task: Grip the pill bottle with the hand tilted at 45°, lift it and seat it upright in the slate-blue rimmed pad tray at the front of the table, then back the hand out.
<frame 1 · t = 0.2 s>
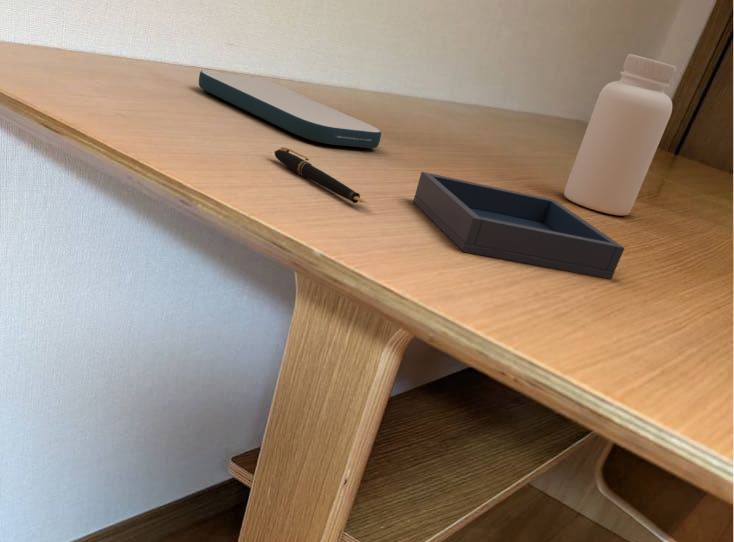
fountain pen: (316, 186, 70), on the table
pad tray: (507, 238, 70), on the table
pill bottle: (594, 207, 95), on the table
external hard drive: (284, 121, 93), on the table
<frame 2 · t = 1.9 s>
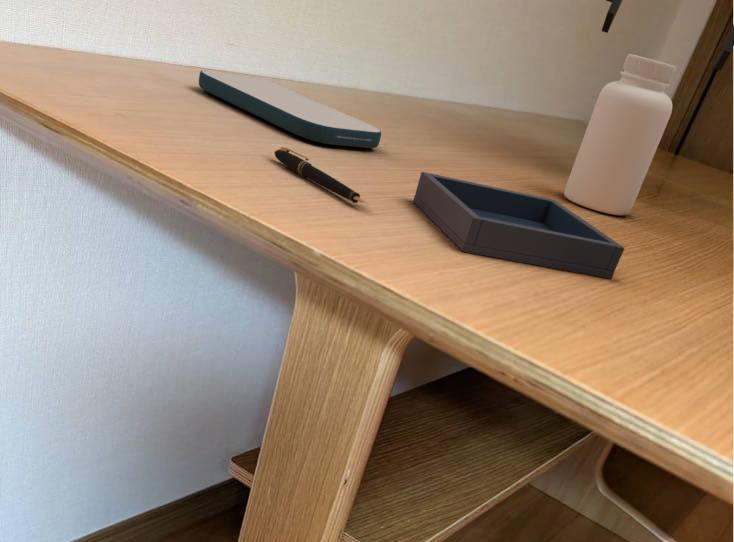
hand: (664, 41, 93), 17 cm above the table, tool tilted 45°, fingers open, 13 cm apart
nothing on the table moved.
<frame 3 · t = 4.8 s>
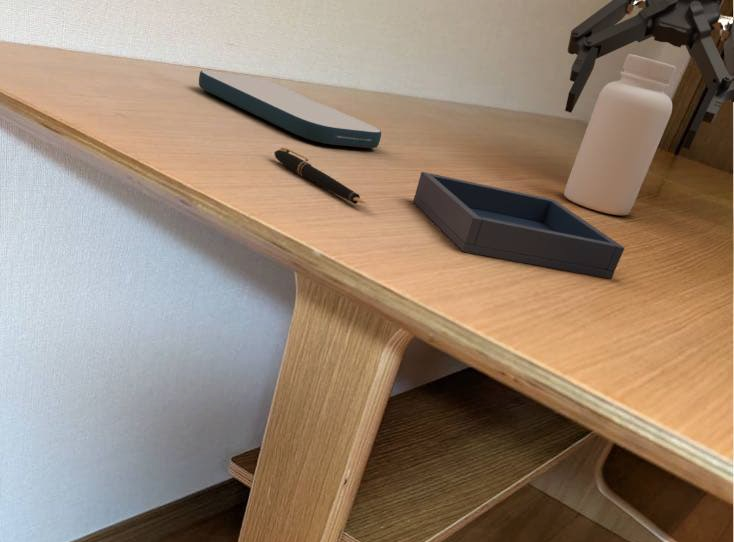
hand: (628, 121, 90), 9 cm above the table, tool tilted 45°, fingers open, 13 cm apart
nothing on the table moved.
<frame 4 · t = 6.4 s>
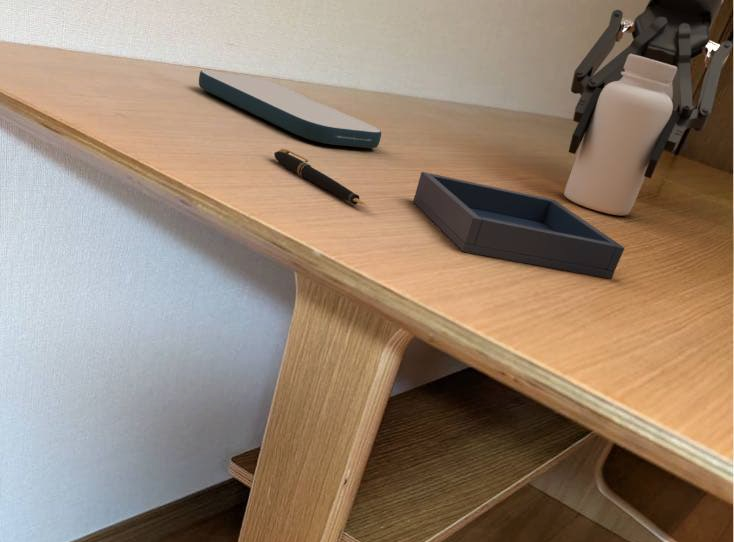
hand: (611, 156, 89), 6 cm above the table, tool tilted 45°, fingers closed on pill bottle, 8 cm apart
pill bottle: (594, 207, 95), on the table, touching gripper
everything else where it was.
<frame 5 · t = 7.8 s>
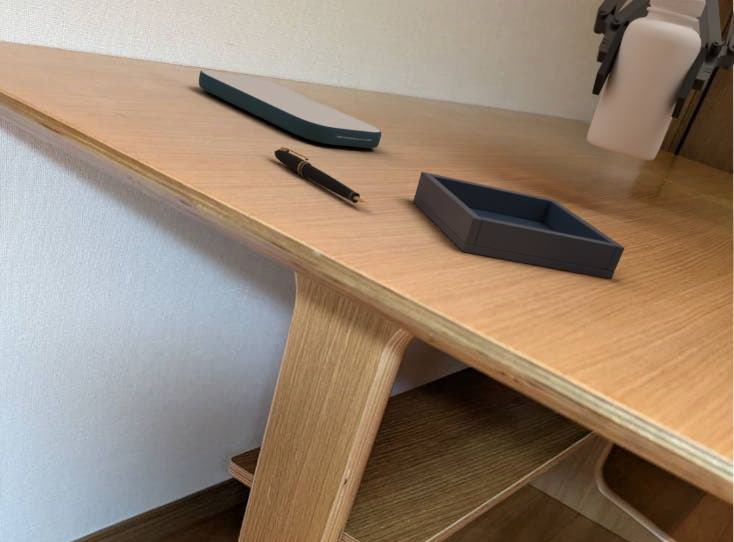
hand: (637, 96, 85), 12 cm above the table, tool tilted 45°, fingers closed on pill bottle, 8 cm apart
pill bottle: (617, 153, 91), point 6 cm above the table, touching gripper
everything else where it was.
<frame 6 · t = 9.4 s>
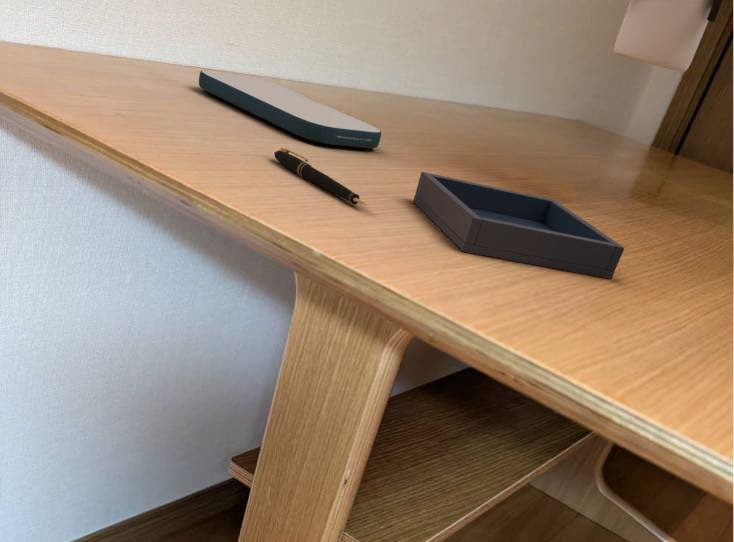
pill bottle: (647, 65, 85), point 14 cm above the table, touching gripper
everything else where it was.
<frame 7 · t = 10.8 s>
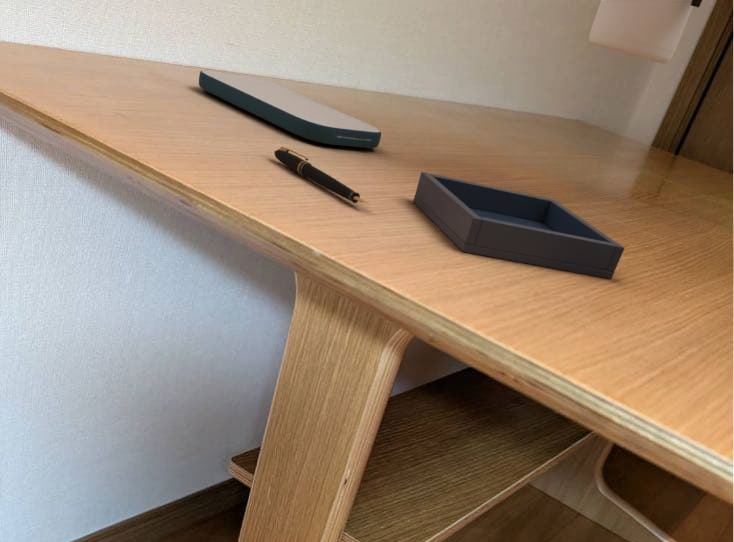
pill bottle: (625, 56, 76), point 15 cm above the table, touching gripper
everything else where it was.
when the fingers open (6 cm above the table, at t = 17.4 s): pill bottle stays where it is, resting on pad tray.
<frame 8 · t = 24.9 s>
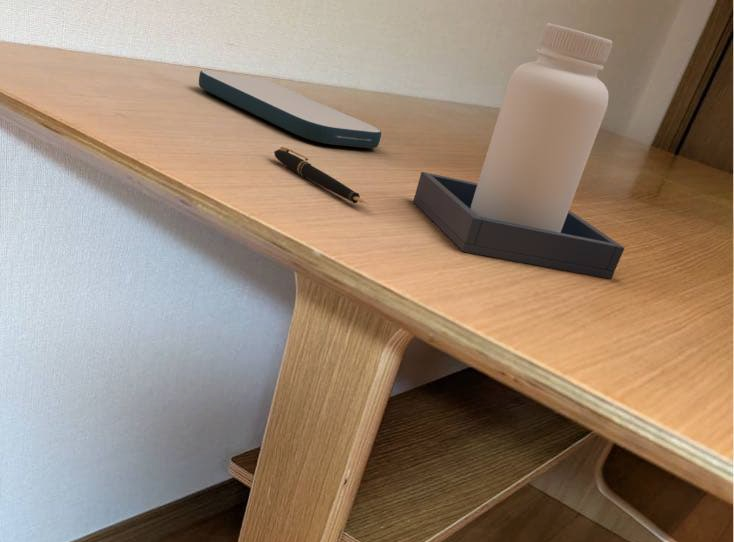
pill bottle: (509, 233, 70), resting on pad tray
everything else where it was.
at the end: pill bottle inside the target area in the pad tray (0.0 cm from its centre), point 0.4 cm above the pad tray's base; pill bottle tilted 0°; the gripper is holding nothing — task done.
